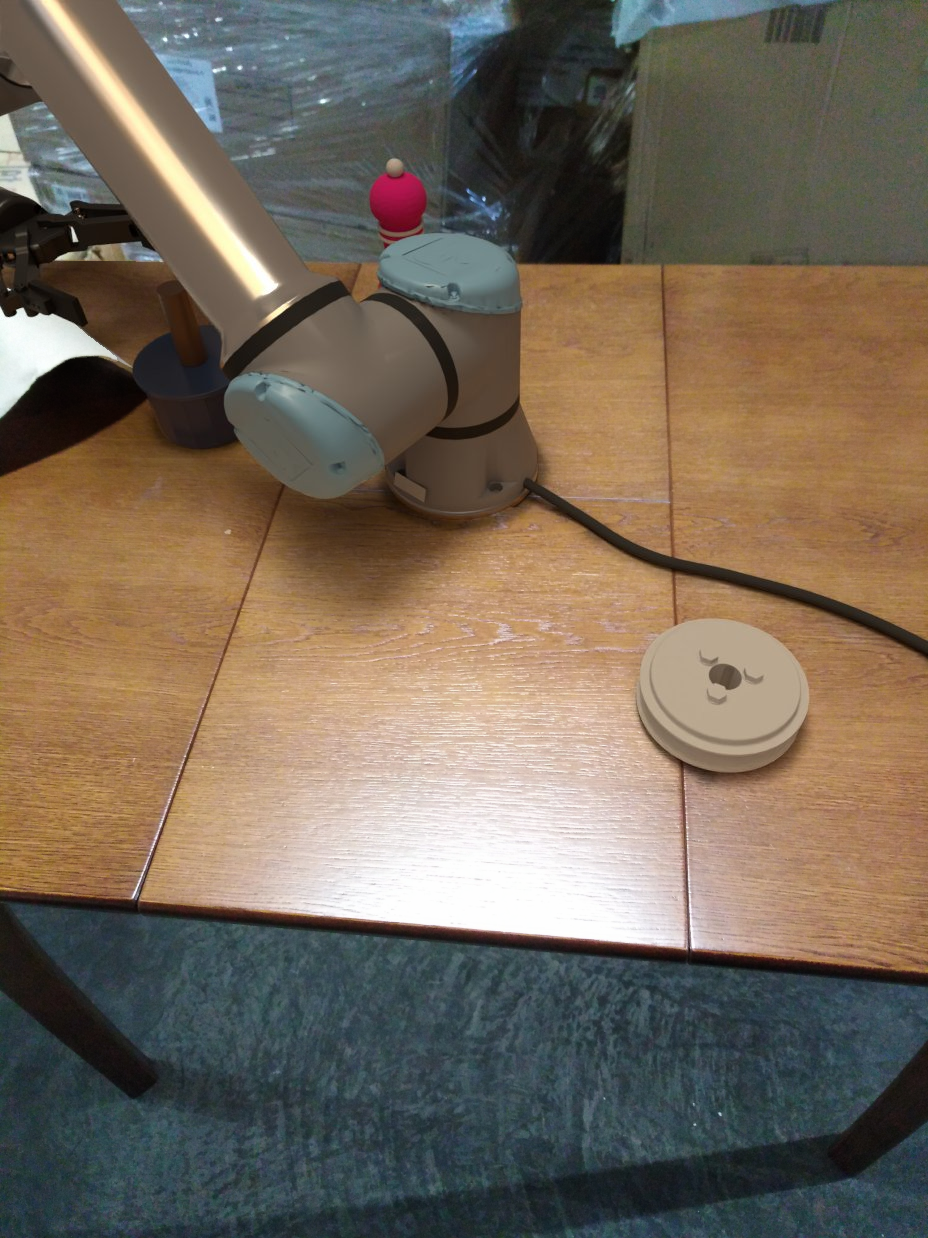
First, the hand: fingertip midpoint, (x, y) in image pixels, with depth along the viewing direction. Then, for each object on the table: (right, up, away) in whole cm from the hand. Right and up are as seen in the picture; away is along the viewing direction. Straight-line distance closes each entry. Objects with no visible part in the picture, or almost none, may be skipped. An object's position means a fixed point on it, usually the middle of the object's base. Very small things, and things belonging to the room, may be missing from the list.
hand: (134, 279), depth 89 cm
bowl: (+5, -11, +9) cm, 15 cm away
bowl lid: (+5, -7, +4) cm, 10 cm away
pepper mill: (+26, 0, +17) cm, 32 cm away
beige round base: (+53, -41, -17) cm, 69 cm away
